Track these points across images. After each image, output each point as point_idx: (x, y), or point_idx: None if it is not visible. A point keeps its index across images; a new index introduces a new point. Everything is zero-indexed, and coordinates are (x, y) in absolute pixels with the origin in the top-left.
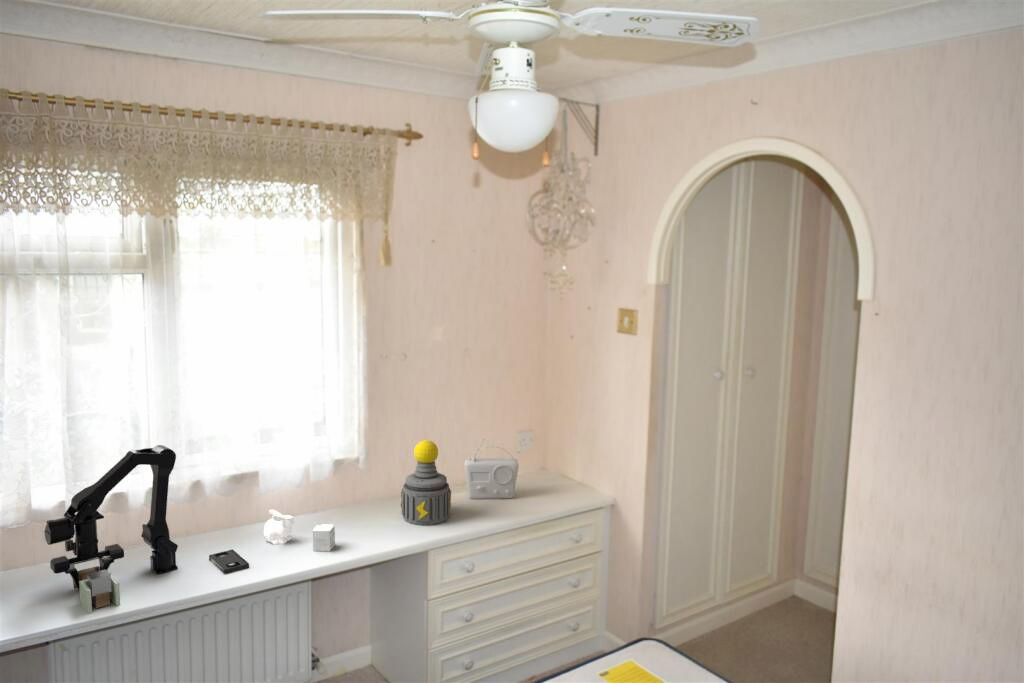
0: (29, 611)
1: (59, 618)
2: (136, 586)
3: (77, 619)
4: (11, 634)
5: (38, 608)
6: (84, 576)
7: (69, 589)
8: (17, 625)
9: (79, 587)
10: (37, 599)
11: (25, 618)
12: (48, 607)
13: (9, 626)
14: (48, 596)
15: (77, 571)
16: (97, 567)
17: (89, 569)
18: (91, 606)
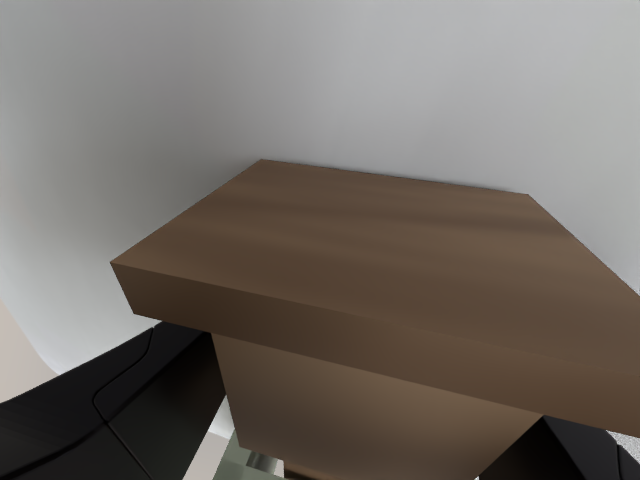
0: (42, 266)
1: None
2: (618, 436)
3: (232, 431)
4: (51, 365)
5: (75, 268)
6: (271, 448)
7: (235, 122)
8: (44, 334)
9: (214, 475)
10: (20, 136)
11: (52, 310)
12: (121, 293)
13: (18, 321)
14: (84, 141)
15: (197, 303)
16: (623, 429)
17: (421, 391)
18: (273, 470)
